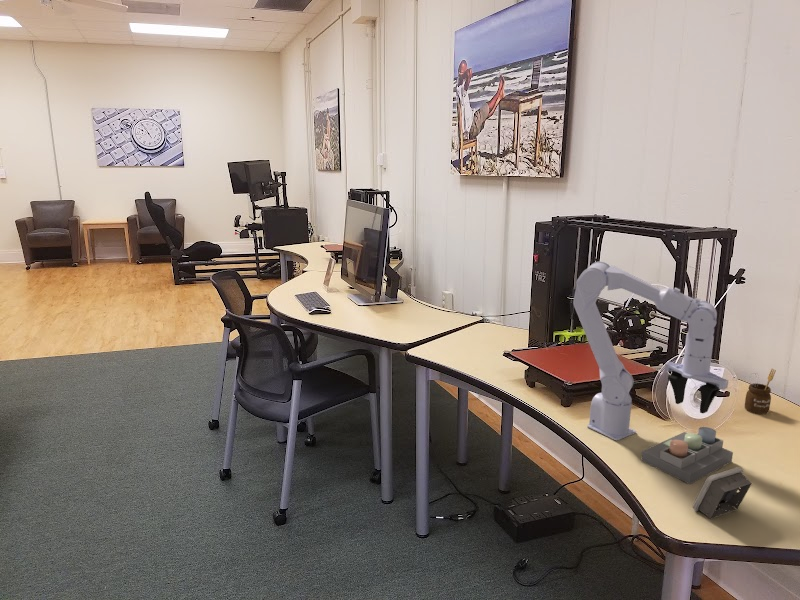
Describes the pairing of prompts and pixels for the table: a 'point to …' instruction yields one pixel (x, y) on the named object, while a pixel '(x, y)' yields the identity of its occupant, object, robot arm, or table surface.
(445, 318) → the table surface
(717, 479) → the electrical switch
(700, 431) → the slate button
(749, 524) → the table surface
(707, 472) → the console
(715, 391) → the robot arm
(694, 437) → the sage button
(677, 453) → the terracotta button
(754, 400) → the utensil holder
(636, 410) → the table surface
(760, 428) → the table surface
